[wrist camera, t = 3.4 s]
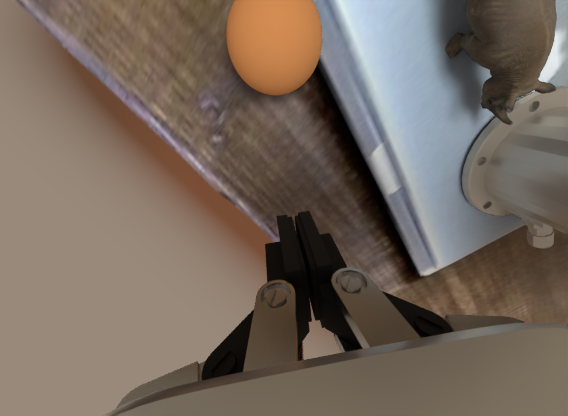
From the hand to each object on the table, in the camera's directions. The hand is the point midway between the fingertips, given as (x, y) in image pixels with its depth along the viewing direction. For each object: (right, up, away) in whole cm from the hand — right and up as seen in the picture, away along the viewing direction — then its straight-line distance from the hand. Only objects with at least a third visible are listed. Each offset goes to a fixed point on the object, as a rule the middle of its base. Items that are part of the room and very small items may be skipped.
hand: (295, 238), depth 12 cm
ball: (-1, +12, +3) cm, 13 cm away
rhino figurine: (+14, +15, +7) cm, 21 cm away
